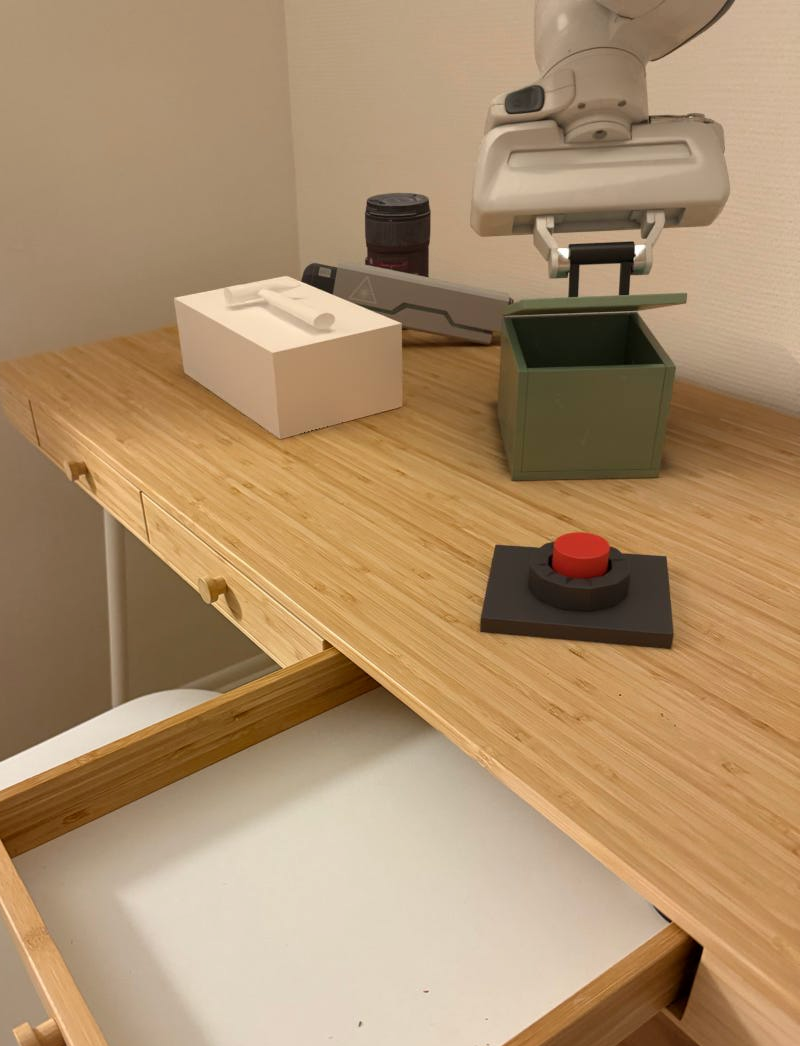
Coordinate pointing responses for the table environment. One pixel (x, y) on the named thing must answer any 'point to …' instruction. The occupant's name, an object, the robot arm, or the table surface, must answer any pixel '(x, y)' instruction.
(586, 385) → the green box
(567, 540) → the button
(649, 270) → the robot arm
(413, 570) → the table surface
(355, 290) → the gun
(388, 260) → the camera lens
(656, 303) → the box lid
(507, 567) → the button box
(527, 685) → the table surface
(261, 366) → the white rectangular box
